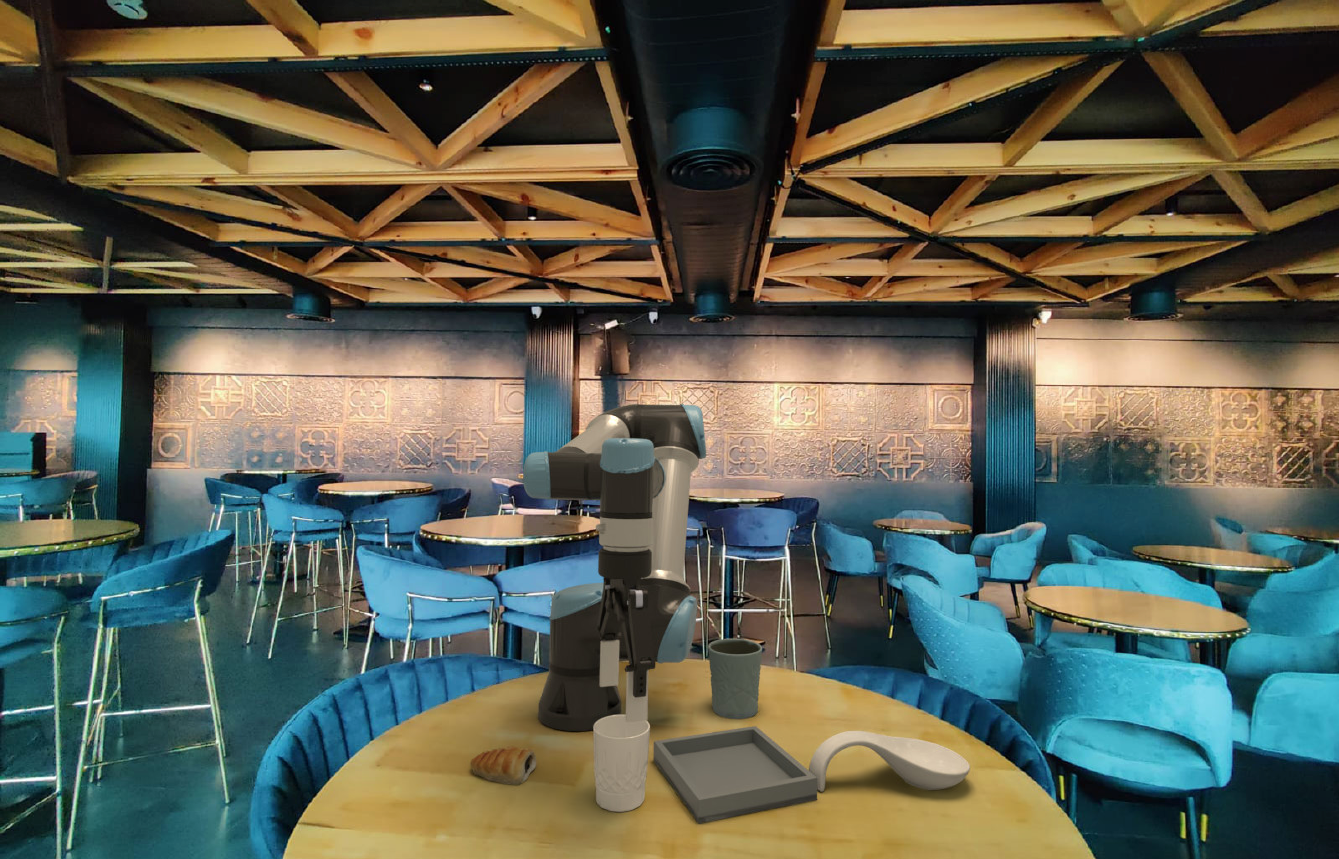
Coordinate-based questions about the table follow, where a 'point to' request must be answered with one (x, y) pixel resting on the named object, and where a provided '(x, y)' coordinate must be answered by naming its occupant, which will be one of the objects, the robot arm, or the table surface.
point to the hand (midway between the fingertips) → (621, 701)
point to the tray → (732, 773)
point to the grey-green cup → (735, 677)
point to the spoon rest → (897, 759)
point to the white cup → (620, 762)
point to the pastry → (505, 765)
